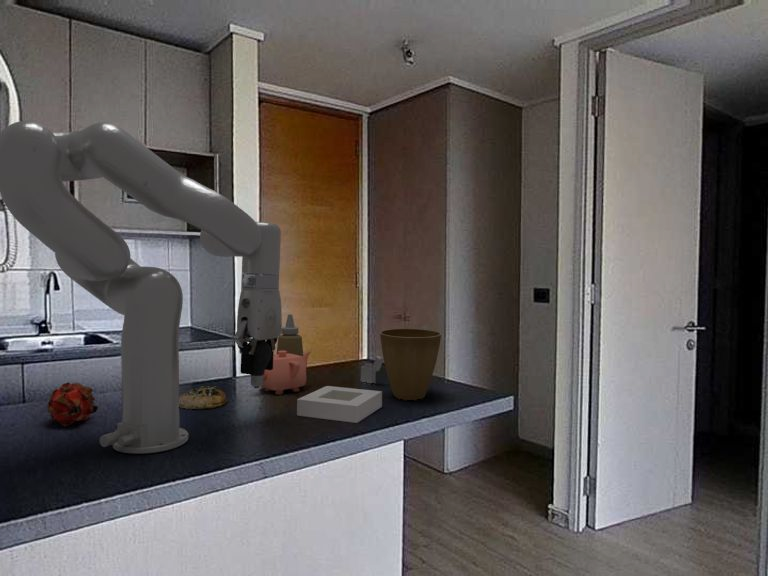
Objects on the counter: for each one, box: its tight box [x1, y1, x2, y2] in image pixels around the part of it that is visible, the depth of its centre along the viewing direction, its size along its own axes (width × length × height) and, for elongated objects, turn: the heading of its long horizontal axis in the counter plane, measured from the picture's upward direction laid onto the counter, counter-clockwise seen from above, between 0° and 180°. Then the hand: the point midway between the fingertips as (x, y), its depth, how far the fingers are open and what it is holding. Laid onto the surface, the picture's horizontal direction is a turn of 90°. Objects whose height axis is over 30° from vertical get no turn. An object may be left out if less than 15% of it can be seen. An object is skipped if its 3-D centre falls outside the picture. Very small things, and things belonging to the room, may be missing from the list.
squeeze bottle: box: [276, 314, 304, 357], centre depth 156 cm, size 8×8×18 cm
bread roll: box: [179, 385, 228, 410], centre depth 129 cm, size 11×11×5 cm
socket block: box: [296, 385, 383, 424], centre depth 124 cm, size 14×14×4 cm
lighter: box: [360, 354, 384, 384], centre depth 152 cm, size 7×2×8 cm, turn 48°
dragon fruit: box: [46, 382, 100, 427], centre depth 114 cm, size 8×8×12 cm
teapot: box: [260, 350, 313, 395], centre depth 143 cm, size 14×12×10 cm
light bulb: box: [247, 340, 272, 389], centre depth 115 cm, size 6×6×10 cm
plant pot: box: [379, 328, 442, 401], centre depth 137 cm, size 15×15×16 cm
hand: (257, 370), depth 116 cm, fingers closed on light bulb, 5 cm apart
